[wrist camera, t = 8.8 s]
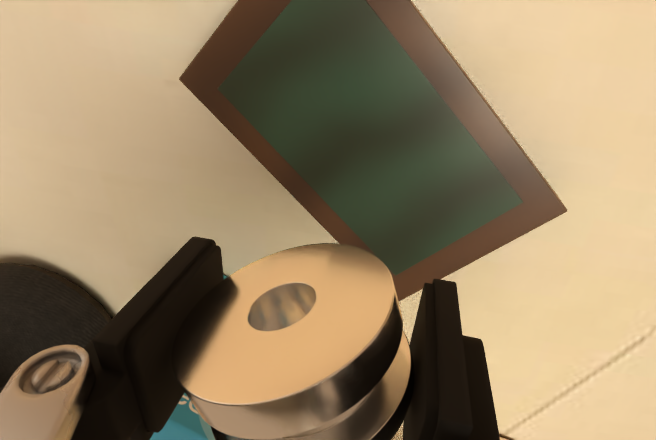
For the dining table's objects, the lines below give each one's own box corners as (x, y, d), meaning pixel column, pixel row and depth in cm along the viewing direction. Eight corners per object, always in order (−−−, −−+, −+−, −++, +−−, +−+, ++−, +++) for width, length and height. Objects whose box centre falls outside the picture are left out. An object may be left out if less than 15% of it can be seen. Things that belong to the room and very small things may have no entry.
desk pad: (557, 195, 23) (569, 213, 21) (398, 284, 29) (396, 304, 27) (333, -104, 18) (323, -116, 17) (195, 73, 24) (176, 79, 22)
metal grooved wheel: (400, 232, 10) (383, 405, 6) (420, 319, 11) (418, 515, 7) (231, 254, 11) (120, 404, 7) (266, 329, 13) (187, 494, 8)
